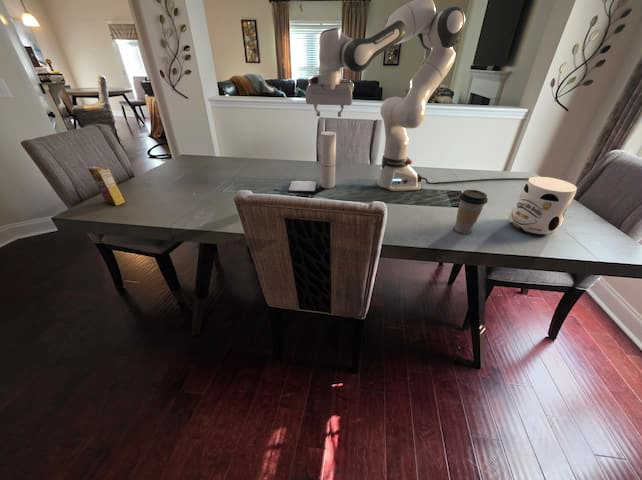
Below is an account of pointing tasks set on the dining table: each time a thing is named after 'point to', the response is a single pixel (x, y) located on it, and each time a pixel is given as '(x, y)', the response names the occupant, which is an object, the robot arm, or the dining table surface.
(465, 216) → the coffee cup
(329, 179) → the cylindrical container
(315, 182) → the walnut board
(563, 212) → the milk container
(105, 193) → the candy box
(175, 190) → the dining table surface
